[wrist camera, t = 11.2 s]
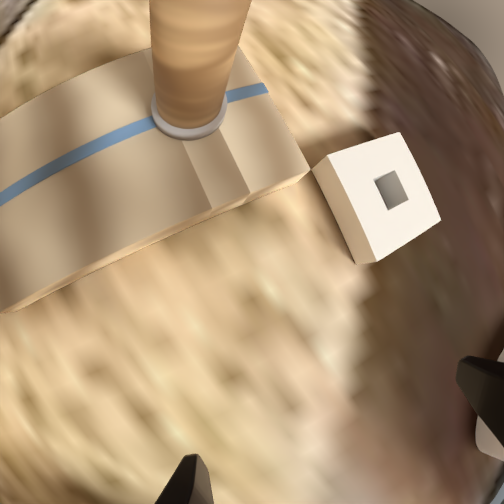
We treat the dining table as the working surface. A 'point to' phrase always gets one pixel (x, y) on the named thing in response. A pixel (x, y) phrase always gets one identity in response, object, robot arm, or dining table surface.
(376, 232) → the awl holder
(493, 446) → the roll of tape
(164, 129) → the awl
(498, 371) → the robot arm
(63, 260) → the beige flat rectangular piece
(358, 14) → the dining table surface
